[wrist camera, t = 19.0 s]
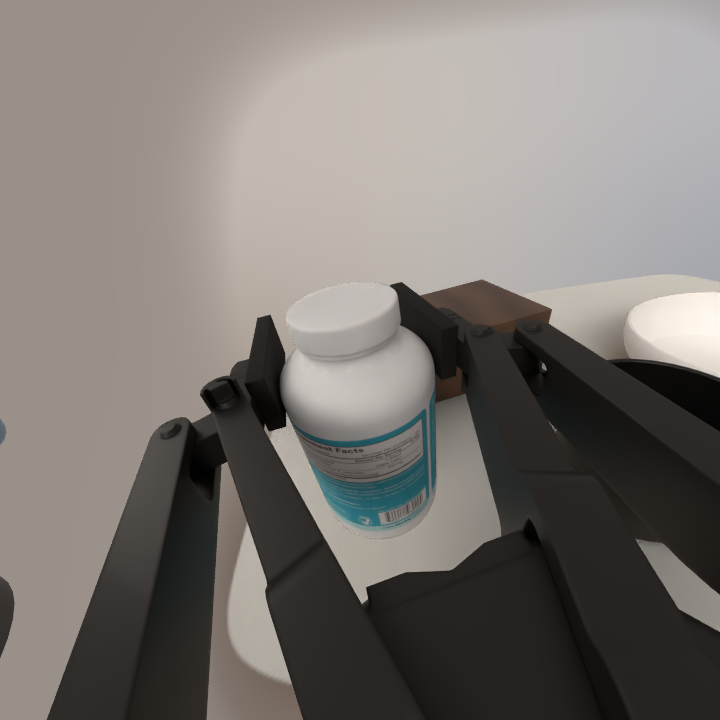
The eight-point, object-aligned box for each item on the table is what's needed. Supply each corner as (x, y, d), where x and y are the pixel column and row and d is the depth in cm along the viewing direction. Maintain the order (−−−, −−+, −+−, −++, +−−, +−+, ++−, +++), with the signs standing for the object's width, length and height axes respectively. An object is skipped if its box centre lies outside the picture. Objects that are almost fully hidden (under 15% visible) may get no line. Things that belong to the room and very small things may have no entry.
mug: (744, 478, 21) (839, 389, 16) (663, 577, 17) (755, 502, 12) (601, 409, 28) (635, 333, 23) (523, 467, 24) (544, 392, 19)
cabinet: (423, 406, 33) (419, 346, 28) (389, 355, 43) (382, 305, 38) (537, 371, 34) (552, 309, 29) (477, 330, 45) (482, 279, 40)
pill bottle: (364, 428, 23) (330, 269, 15) (452, 464, 19) (462, 272, 11) (305, 506, 18) (212, 329, 11) (405, 575, 14) (370, 372, 7)
